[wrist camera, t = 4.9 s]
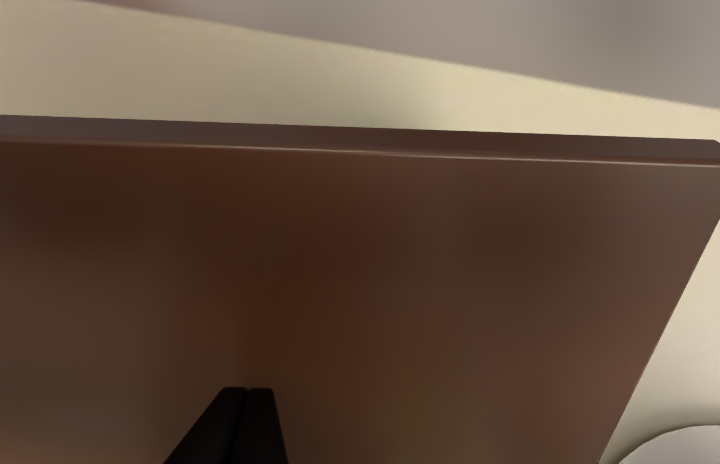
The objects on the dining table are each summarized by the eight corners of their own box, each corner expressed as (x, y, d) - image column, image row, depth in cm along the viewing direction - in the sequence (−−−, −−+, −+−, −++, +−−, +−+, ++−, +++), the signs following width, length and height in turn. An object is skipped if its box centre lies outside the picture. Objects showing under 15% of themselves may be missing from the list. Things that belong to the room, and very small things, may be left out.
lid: (-255, 102, 7) (-318, 125, 7) (717, 137, 8) (752, 162, 7) (34, 555, 14) (18, 588, 14) (525, 565, 15) (532, 597, 14)
